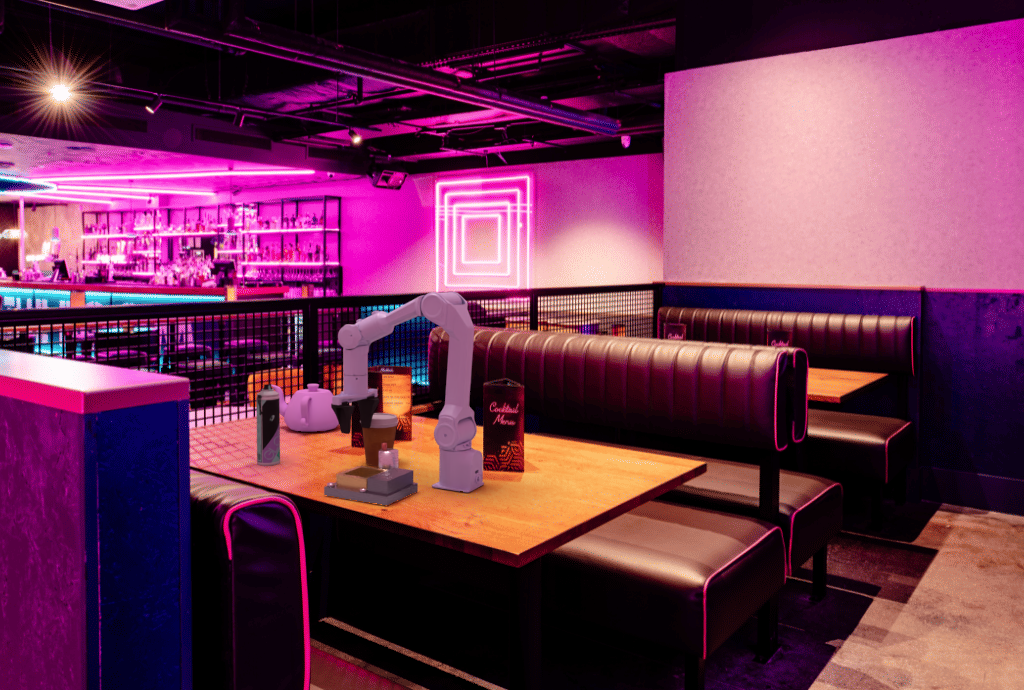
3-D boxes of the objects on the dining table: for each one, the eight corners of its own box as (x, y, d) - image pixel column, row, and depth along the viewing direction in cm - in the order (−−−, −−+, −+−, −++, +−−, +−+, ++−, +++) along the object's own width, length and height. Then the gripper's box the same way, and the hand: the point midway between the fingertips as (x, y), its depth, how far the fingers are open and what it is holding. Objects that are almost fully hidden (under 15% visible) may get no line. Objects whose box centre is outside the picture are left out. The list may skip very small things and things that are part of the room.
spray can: (273, 466, 187) (272, 386, 185) (252, 465, 188) (251, 385, 186) (284, 461, 192) (283, 382, 191) (264, 459, 193) (263, 382, 192)
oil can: (402, 479, 178) (402, 443, 177) (391, 483, 174) (391, 446, 173) (385, 476, 180) (385, 440, 179) (374, 481, 176) (374, 444, 175)
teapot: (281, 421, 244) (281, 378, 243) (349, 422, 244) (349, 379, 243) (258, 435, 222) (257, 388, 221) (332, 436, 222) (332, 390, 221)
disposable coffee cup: (360, 468, 186) (361, 420, 185) (358, 459, 195) (358, 413, 194) (399, 467, 189) (400, 419, 188) (395, 457, 198) (396, 412, 197)
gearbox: (417, 491, 168) (417, 469, 167) (386, 506, 157) (386, 482, 156) (357, 482, 174) (357, 461, 174) (324, 495, 163) (324, 473, 163)
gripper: (361, 370, 190) (361, 423, 191) (321, 376, 177) (322, 433, 178) (384, 372, 187) (384, 426, 188) (345, 378, 174) (346, 437, 175)
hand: (355, 430), depth 183 cm, fingers open, 7 cm apart
